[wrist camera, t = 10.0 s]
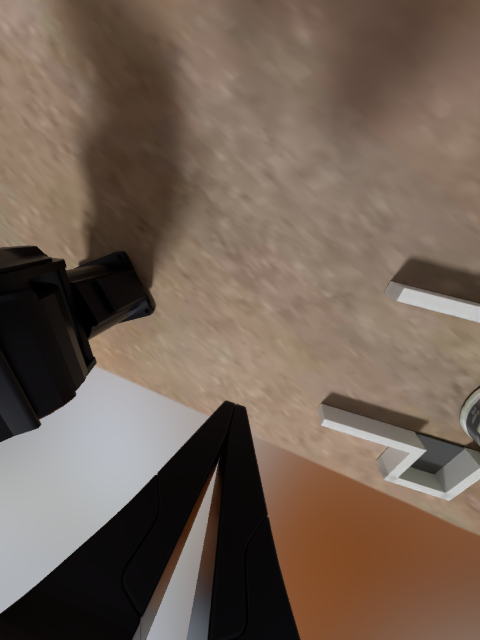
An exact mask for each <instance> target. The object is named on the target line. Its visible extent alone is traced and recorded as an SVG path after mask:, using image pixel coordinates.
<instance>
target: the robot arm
mask: <svg viewBox="0 0 480 640" xmlns="http://www.w3.org/2000/svg"><path fill="white" fill-rule="evenodd" d="M121 256H122V258H121ZM65 268H66V264H65V260H64V259H57V258H51V257H48V256H47V255H45V254H44V253H43V252H42V251H41V250H40V249H39V248H38V247H37V246H15V247H2V248H0V442H2V441H4V440H6V439H8V438H11V437H13V436H16V435H19V434H22V433H25V432H28V431H31V430H34V429H37V428H39V427H40V425H41V423H40V421H39V419H41V418H43V417H45V416H48V415H50V414H51V413H53V412H54V411H56V410H58V409H59V408H61V407H63V406H64V405H65V404H67V403H68V402H69V401H70V400H72V399H73V398H74V397H75V396H76V392H75V391H76V390H77V389H78V388H79V387H80V386H81V384H82V383H83V382H84V381H85V379H86V376H87V375H88V374H89V372H90V371H91V370H92V368H93V367H94V366H95V364H96V363H97V362H96V359H95V357H93V354H92V351H91V348H90V345H89V341H88V340H90V339H91V338H93V337H95V336H97V335H98V334H100V333H102V332H103V331H105V330H107V329H109V328H110V327H112V326H114V325H115V324H118V323H121V322H125V321H129V320H133V319H137V318H141V317H145V316H149V315H151V314H152V313H153V312H154V310H153V307H152V305H151V303H150V301H149V299H148V297H147V295H146V293H145V291H144V289H143V287H142V285H141V283H140V280H139V278H138V276H137V274H136V272H135V270H134V268H133V266H132V264H131V262H130V260H129V258H128V256H127V254H126V253H125V252H123V251H119V252H115V253H113V254H110V255H107V256H105V257H102V258H100V259H97V260H94V261H92V262H89V263H87V264H84V265H81V266H79V267H76V268H74V269H70V270H66V269H65ZM147 309H148V310H149V311H148V310H147ZM220 454H221V455H220ZM218 461H219V462H218ZM217 464H218V467H217V472H216V478H215V483H214V489H213V494H212V500H211V506H210V511H209V517H208V523H207V529H206V534H205V539H204V545H203V551H202V556H201V562H200V568H199V574H198V580H197V585H196V590H195V596H194V602H193V607H192V613H191V619H190V624H189V630H188V636H187V640H300V636H299V633H298V629H297V626H296V623H295V619H294V616H293V613H292V609H291V606H290V602H289V598H288V595H287V591H286V587H285V584H284V580H283V576H282V573H281V569H280V565H279V561H278V558H277V553H276V548H275V544H274V540H273V536H272V531H271V526H270V521H269V517H267V515H268V512H267V507H266V502H265V497H264V492H263V488H262V483H261V478H260V474H259V468H258V464H257V459H256V454H255V449H254V444H253V439H252V434H251V430H250V425H249V420H248V415H247V410H246V407H244V406H242V405H239V404H236V405H235V403H233V402H230V401H224V402H223V403H222V404H221V406H220V407H219V408H218V409H217V410H216V411H215V412H214V413H213V414H212V415H211V416H210V417H209V418H208V419H207V420H206V422H205V423H204V424H203V425H202V426H201V427H200V428H199V429H198V430H197V431H196V432H195V433H194V434H193V435H192V437H191V438H190V439H189V440H188V441H187V442H186V443H185V444H184V445H183V446H182V447H181V448H180V449H179V450H178V452H177V453H176V454H175V455H174V456H173V457H172V458H171V459H170V460H169V461H168V462H167V463H166V464H165V465H164V467H162V469H161V470H160V471H159V472H158V473H157V475H155V476H154V477H153V478H152V479H151V480H150V481H149V482H148V483H147V484H146V485H145V486H144V487H143V488H142V489H141V491H140V492H139V493H138V494H137V495H136V496H135V497H134V498H133V499H132V500H131V501H130V502H129V503H128V504H127V505H126V506H124V508H122V509H121V510H120V511H119V512H118V513H117V514H116V515H115V516H114V517H113V518H112V519H111V520H109V521H108V522H107V523H106V524H105V525H104V526H103V527H102V528H100V530H98V531H97V532H96V533H95V534H94V535H93V536H92V537H90V538H89V539H88V540H87V541H86V542H85V543H84V544H82V545H81V546H80V547H79V548H78V549H77V550H76V551H74V552H73V553H72V554H71V555H70V556H69V557H68V558H67V559H65V560H64V561H63V562H62V563H61V564H60V565H59V566H58V567H56V568H55V569H54V570H53V571H52V572H51V573H50V574H49V575H47V576H46V577H45V578H44V579H43V580H42V581H40V582H39V583H38V584H37V585H36V586H35V587H33V588H32V589H31V590H30V591H29V592H28V593H26V594H25V595H24V596H23V597H21V598H20V599H19V600H17V601H16V602H15V603H13V604H12V605H11V606H10V607H8V608H7V609H6V610H4V611H3V612H2V613H0V640H146V638H147V636H148V633H149V631H150V628H151V626H152V623H153V621H154V619H155V616H156V614H157V611H158V609H159V606H160V604H161V601H162V599H163V597H164V594H165V591H166V589H167V587H168V584H169V582H170V579H171V577H172V574H173V572H174V570H175V567H176V565H177V562H178V560H179V557H180V554H181V552H182V550H183V547H184V545H185V542H186V540H187V538H188V535H189V533H190V530H191V528H192V525H193V523H194V521H195V518H196V516H197V513H198V511H199V508H200V506H201V504H202V501H203V498H204V496H205V494H206V491H207V489H208V486H209V484H210V481H211V479H212V477H213V474H214V472H215V469H216V466H217Z"/></svg>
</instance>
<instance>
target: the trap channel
mask: <svg viewBox="0 0 480 640" xmlns="http://www.w3.org/2000/svg"><path fill="white" fill-rule="evenodd" d="M384 293H385V294H386V295H388V296H390V297H391V298H393V299H394V300H396V301H399V302H403V303H407V304H411V305H414V306H418V307H422V308H426V309H430V310H434V311H437V312H441V313H445V314H449V315H453V316H457V317H460V318H464V319H468V320H472V321H476V322H480V304H479V303H475V302H471V301H467V300H463V299H459V298H455V297H451V296H447V295H443V294H439V293H435V292H432V291H428V290H424V289H420V288H416V287H412V286H408V285H404V284H400V283H396V282H392V281H390V283H389V285H388V286H387V288H386V290H385V292H384ZM318 414H319V419H320V424H321V426H325V427H328V428H331V429H334V430H337V431H341V432H344V433H347V434H350V435H353V436H357V437H360V438H363V439H366V440H369V441H373V442H376V443H379V444H382V445H385V446H389V447H388V448H387V449H386V450H385V451H384V453H383V454H382V455H381V456H380V457H379V458H378V459H377V460H376V462H377V465H378V467H379V469H380V472H381V474H382V477H383V479H384V480H387V481H390V482H393V483H396V484H399V485H402V486H405V487H408V488H411V489H414V490H417V491H420V492H424V493H427V494H430V495H433V496H436V497H439V498H442V499H445V500H448V501H450V500H451V499H452V498H454V497H455V496H457V495H458V494H459V493H461V492H462V491H464V490H465V489H466V488H468V487H469V486H471V485H472V484H473V483H475V482H476V481H478V480H479V479H480V452H479V451H475V450H472V449H469V448H466V447H462V446H459V445H456V444H452V443H449V442H446V441H443V440H439V439H436V438H433V437H429V436H426V435H423V434H420V433H416V432H413V431H410V430H407V429H403V428H400V427H397V426H393V425H390V424H387V423H384V422H380V421H377V420H374V419H370V418H367V417H364V416H361V415H357V414H354V413H351V412H347V411H344V410H341V409H338V408H334V407H331V406H328V405H325V404H321V405H320V406H319V408H318Z"/></svg>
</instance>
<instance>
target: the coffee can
mask: <svg viewBox="0 0 480 640" xmlns="http://www.w3.org/2000/svg"><path fill="white" fill-rule="evenodd" d="M460 422H461V426H462V428H463V430H464V431H465V432H466V434H467V435H468V436H469V437H470V438H472V439H473V440H474V441H475V442H476V443H477V444H478V445H479V446H480V388H479V389H478V390H476V391H475V392H474V393H473V394H472V395H471V396H470V397H469V398H468V399H467V400H466V402H465V403H464V405H463V407H462V409H461V413H460Z"/></svg>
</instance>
